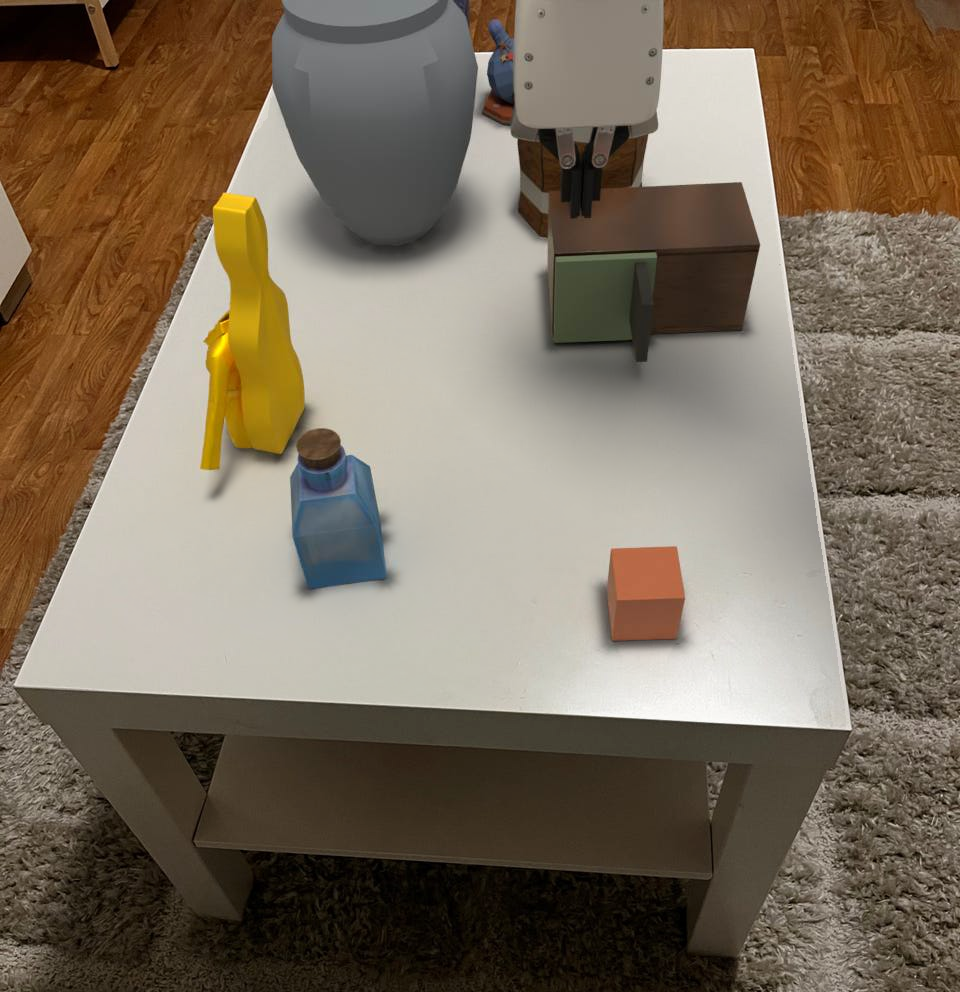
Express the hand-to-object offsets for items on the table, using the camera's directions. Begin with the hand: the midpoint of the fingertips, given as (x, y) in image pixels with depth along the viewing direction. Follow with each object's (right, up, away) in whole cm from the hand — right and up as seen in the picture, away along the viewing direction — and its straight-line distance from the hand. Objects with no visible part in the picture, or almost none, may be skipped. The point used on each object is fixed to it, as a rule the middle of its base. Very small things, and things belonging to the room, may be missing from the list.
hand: (579, 208), depth 76 cm
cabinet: (+8, -1, +19) cm, 21 cm away
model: (-1, +31, +42) cm, 52 cm away
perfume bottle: (-19, -27, +2) cm, 33 cm away
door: (+4, -8, +14) cm, 16 cm away
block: (+4, -32, -3) cm, 32 cm away
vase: (-17, +11, +29) cm, 35 cm away
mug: (+3, +15, +31) cm, 35 cm away
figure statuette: (-26, -15, +11) cm, 32 cm away
